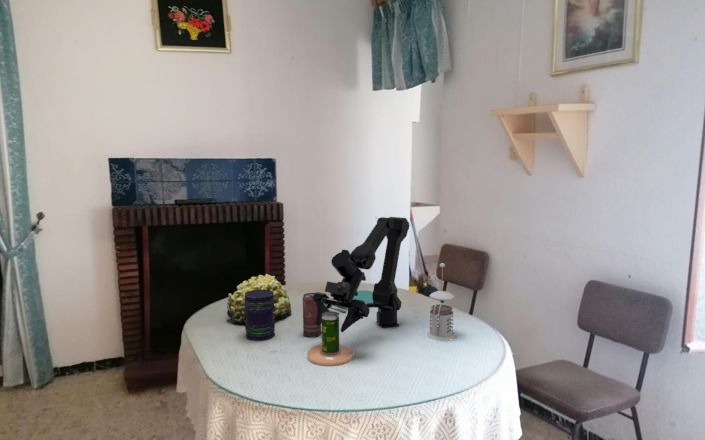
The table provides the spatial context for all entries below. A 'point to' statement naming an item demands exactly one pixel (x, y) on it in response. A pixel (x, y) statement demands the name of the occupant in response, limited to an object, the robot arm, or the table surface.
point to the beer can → (330, 333)
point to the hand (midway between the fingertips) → (329, 328)
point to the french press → (441, 316)
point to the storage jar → (259, 315)
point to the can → (310, 317)
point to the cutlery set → (362, 295)
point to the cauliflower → (256, 283)
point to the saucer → (330, 356)
